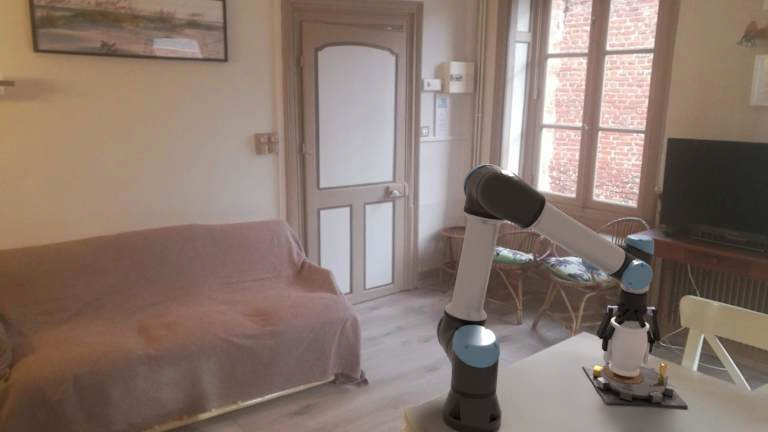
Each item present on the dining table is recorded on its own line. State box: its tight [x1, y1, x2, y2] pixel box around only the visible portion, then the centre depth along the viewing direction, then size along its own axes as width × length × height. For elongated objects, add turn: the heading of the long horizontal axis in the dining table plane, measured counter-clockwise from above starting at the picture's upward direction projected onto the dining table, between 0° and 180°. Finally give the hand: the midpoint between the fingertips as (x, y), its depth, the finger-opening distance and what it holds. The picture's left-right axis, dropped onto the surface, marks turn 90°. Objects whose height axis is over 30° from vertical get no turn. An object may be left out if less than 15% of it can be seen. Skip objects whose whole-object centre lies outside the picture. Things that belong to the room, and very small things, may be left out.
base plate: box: [582, 365, 689, 409], centre depth 173 cm, size 22×22×1 cm
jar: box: [609, 316, 650, 377], centre depth 172 cm, size 11×10×15 cm
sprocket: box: [593, 361, 675, 403], centre depth 172 cm, size 22×22×8 cm
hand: (625, 361), depth 173 cm, fingers closed on jar, 10 cm apart
